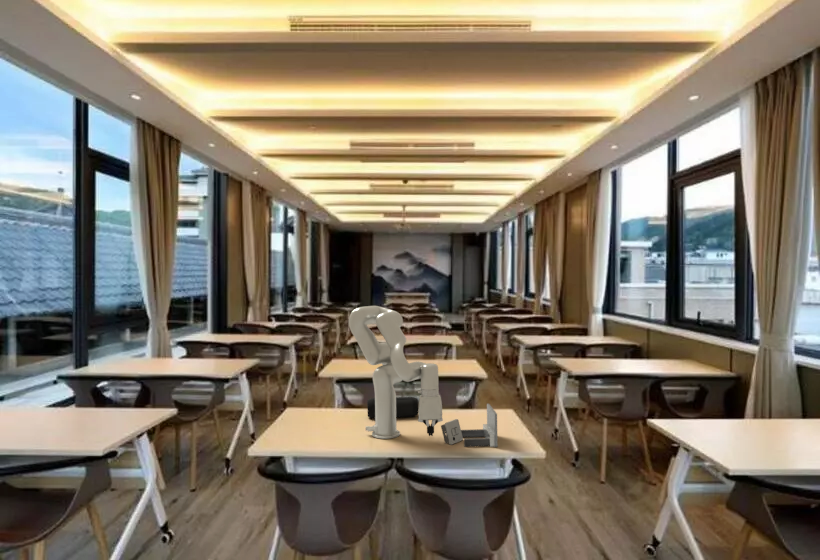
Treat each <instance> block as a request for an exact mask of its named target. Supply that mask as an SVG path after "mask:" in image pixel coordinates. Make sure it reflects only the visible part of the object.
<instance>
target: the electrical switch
mask: <svg viewBox="0 0 820 560" xmlns="http://www.w3.org/2000/svg"><path fill="white" fill-rule="evenodd" d="M440 428H441V432H442V436H443V441H444V444H449V445H450V446H451V445H454V444H456V443H460V442H462V441H464V437H463V436H462V432H461V430H462V428H461V425H460V421H459V418H458V419H457V418H455V419H452V420H450V421H447V422H445V423H443V424H441V425H440Z"/></svg>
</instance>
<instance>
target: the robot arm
mask: <svg viewBox="0 0 820 560" xmlns="http://www.w3.org/2000/svg"><path fill="white" fill-rule="evenodd" d="M403 323H404V319H403V316H402V314H400V313H399V311H396V310H393V309H389V308H387V307H383V306H378V305H368V306H359V307H357V308H355V309H353V310H352V311H351V313H350V315H349V317H348V327H349V329H350V330H349V331H350V332H351V334H352V335H353V337H354V339H355V341H356V342H357V344H358V346H359V348H360V350H361V352H362V354H363V356H364V358H365V360H366V362H367V363H368V364H370V365H371V366H378V365H380V366H378V367H376V368H375V370H374V371H373V373H372V384H373V388H374V389H373V390H374V398H375V418H374V421H375V422H374V425H371V426H370V425H369V426H368V425H365V431H366V432H371V436H372V437H374V438H377V439H383V440H385V439H395V438H397V437H399V436H400V435H401V431H399V430H398V429H397V427H398V426H397V418H396V397H397V393H396V390H395V387H394V385H396V384H399V383H401V382H407V383H409V382H412V381H415V380H420V389H418V390H417V394H420V395H419V398H418V418H417V421H418V422H419V423H422V424H424V425H425V426H426V434H428V436H429V437H433V436H434V435H433V434H435V425H437V424H438V423H441V422H443V421H444V419H443V405H442V404H443V402H442V397H441V395H440V393H439V390H440V389H439V366H438V365H437V364H436V363H433V362H432V363H431V362H430V363H426V362H423V361H413V362H410V363H409V361H408V360H407V358H406V356H405V354H404V348H405V347H404V346H405V344H406V343H407V338H406V336H405V334H404V333H403V330H402V329H401V327H402V326H403ZM374 324H376V326H377V328H378V330H379V332H380V334H381V335H382V338H383V339H384V340H385V342H379V341H378V339H377V337H376V335H375V333H374V332H373V331H372V330H371V329H370V328H369V327H368V326H369V325H374ZM430 421H431V424H430Z"/></svg>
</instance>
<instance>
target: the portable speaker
mask: <svg viewBox="0 0 820 560" xmlns="http://www.w3.org/2000/svg"><path fill="white" fill-rule="evenodd" d="M366 407H367V417H369V418H371V419H375V397H372V398H369V399H367V406H366ZM418 408H419V398H417V397H414V396H398V397H397V396H396V417H397V418H411V417H412V418H413V417H416V416H419V414H418Z"/></svg>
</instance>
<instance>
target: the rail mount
mask: <svg viewBox="0 0 820 560" xmlns="http://www.w3.org/2000/svg"><path fill="white" fill-rule="evenodd" d="M461 432H462V436H463V446H464V448H466V447H467V448H469V447H471V448H472V447H473V448H474V447H475V446H476V447H477V446H478V447H490V448H496V447H498V413H497V412H496V410H495V409H494V408H493V406H491V403H486V423H484V424H482V429H461ZM484 437H485V438H484Z"/></svg>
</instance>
